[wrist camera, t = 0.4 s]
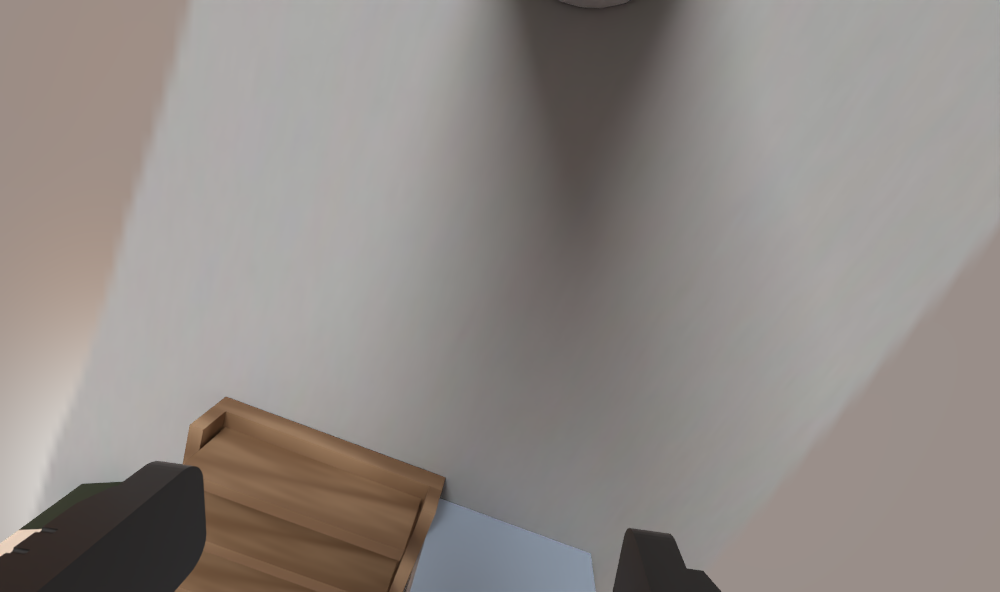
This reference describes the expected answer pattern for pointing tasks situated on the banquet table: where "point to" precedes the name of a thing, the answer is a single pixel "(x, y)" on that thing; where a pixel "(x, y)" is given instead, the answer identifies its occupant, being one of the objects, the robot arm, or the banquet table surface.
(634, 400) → the banquet table surface
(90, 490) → the wine bottle
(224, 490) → the rack
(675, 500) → the banquet table surface
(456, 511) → the light blue flat block
